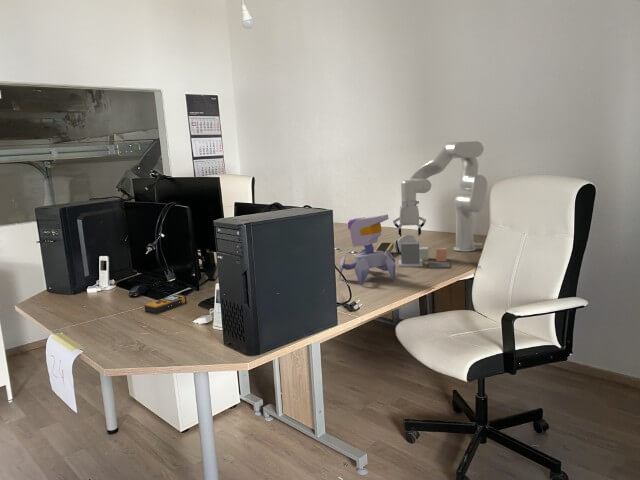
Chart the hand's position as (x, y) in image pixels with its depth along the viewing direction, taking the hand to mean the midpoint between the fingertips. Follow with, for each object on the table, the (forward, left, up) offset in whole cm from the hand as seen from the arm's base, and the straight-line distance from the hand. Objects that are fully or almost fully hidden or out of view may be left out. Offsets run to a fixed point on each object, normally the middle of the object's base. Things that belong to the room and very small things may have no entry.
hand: (409, 235), depth 261 cm
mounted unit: (0, +12, -13) cm, 17 cm away
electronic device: (+101, +79, -13) cm, 129 cm away
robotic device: (+19, +38, -13) cm, 45 cm away
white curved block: (+2, -21, -13) cm, 24 cm away
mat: (-14, +16, -13) cm, 25 cm away
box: (+15, -7, -13) cm, 21 cm away
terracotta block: (-16, +4, -13) cm, 21 cm away
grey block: (-7, +1, -13) cm, 14 cm away
